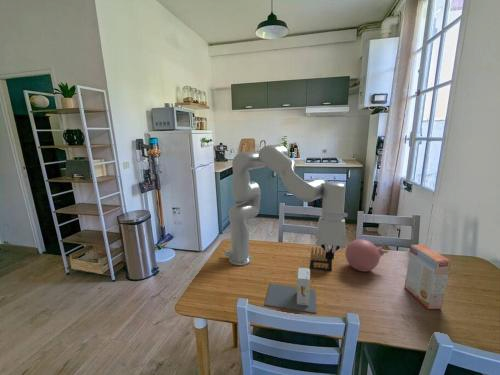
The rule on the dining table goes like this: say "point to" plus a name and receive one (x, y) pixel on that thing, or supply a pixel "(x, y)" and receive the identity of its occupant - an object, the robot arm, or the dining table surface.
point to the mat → (289, 298)
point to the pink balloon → (363, 255)
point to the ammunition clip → (319, 261)
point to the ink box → (303, 286)
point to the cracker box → (427, 276)
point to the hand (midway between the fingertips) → (329, 260)
